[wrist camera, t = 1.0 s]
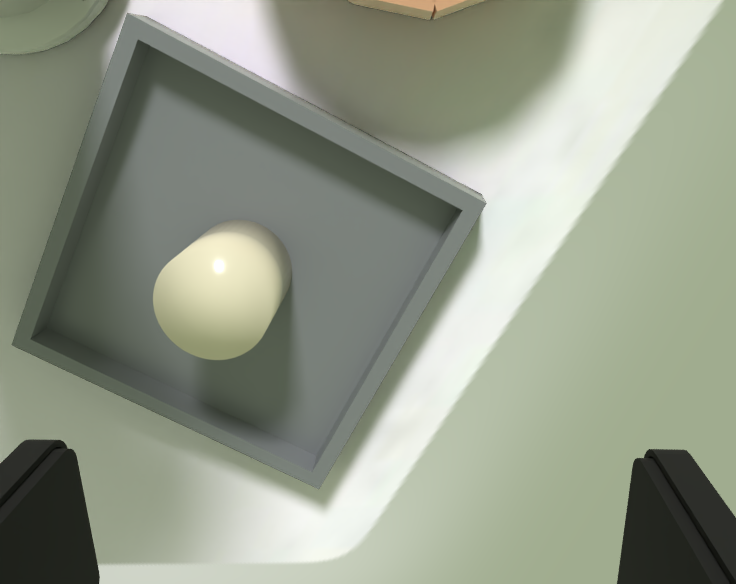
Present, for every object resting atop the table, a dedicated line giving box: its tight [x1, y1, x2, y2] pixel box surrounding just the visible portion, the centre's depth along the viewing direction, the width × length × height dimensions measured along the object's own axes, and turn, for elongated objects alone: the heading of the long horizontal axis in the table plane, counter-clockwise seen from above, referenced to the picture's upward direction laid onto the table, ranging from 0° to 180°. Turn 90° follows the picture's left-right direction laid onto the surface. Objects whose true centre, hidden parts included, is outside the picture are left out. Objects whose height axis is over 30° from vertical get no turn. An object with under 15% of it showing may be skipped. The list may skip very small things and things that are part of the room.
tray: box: [12, 13, 486, 489], centre depth 33 cm, size 18×18×2 cm
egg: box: [153, 220, 292, 360], centre depth 31 cm, size 5×5×6 cm
